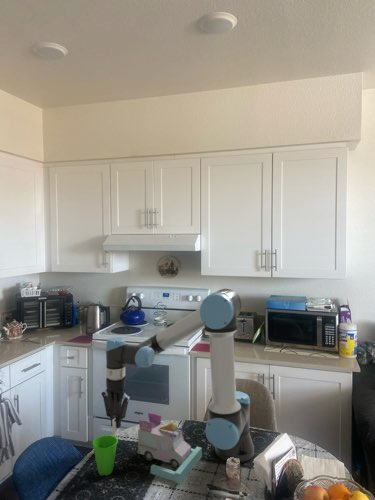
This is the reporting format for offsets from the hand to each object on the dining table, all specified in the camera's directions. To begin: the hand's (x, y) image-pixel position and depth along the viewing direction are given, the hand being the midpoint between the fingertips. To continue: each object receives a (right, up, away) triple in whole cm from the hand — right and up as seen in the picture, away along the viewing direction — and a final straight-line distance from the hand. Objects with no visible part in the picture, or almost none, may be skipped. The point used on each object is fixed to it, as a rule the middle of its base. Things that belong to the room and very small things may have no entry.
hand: (115, 434), depth 151 cm
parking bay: (+25, -5, -12) cm, 28 cm away
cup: (-1, -6, -16) cm, 17 cm away
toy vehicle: (+20, -5, -9) cm, 22 cm away
